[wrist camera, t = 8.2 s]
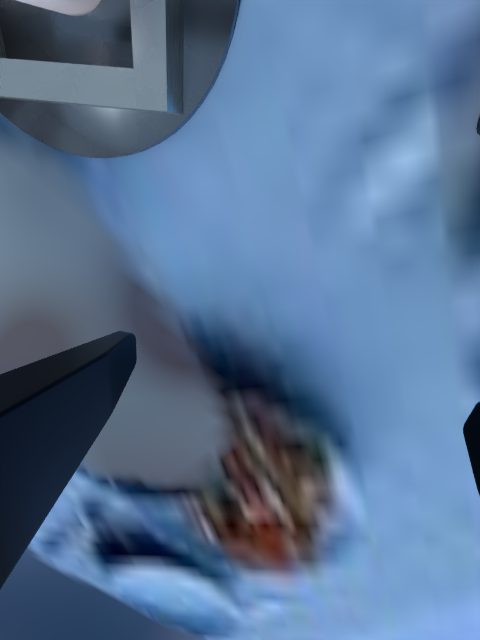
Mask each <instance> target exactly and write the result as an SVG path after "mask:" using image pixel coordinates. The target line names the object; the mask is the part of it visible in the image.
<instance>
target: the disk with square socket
mask: <svg viewBox="0 0 480 640" xmlns="http://www.w3.org/2000/svg"><path fill="white" fill-rule="evenodd" d="M239 1H240V0H101V1H100V3H99V4H98V6H97V7H96V8H95V9H94V10H93V11H91V12H90V13H88V14H86V15H83V16H70V15H66V14H63V13H59V12H56V11H52V10H48V9H45V8H41V7H38V6H34V5H30V4H27V3H23V2H20V1H16V0H0V112H1V113H2V114H3V115H4V116H5V117H6V118H7V119H9V120H10V121H11V122H12V123H13V124H15V125H16V126H17V127H18V128H20V129H21V130H23V131H24V132H26V133H27V134H29V135H30V136H32V137H34V138H35V139H37V140H38V141H41V142H43V143H45V144H47V145H49V146H51V147H53V148H55V149H58V150H61V151H64V152H67V153H70V154H74V155H79V156H84V157H92V158H112V157H120V156H128V155H132V154H135V153H138V152H142V151H145V150H147V149H149V148H151V147H153V146H155V145H157V144H160V143H161V142H163V141H164V140H166V139H167V138H168V137H170V136H171V135H173V134H174V133H176V132H177V131H178V130H179V129H180V128H181V127H182V126H183V125H184V124H185V123H186V122H187V121H188V120H189V119H190V118H191V117H192V116H193V114H194V113H195V112H196V111H197V109H198V108H199V107H200V106H201V104H202V103H203V102H204V100H205V98H206V97H207V95H208V93H209V92H210V90H211V88H212V87H213V85H214V83H215V81H216V79H217V77H218V75H219V72H220V70H221V68H222V66H223V64H224V61H225V58H226V55H227V52H228V49H229V46H230V43H231V40H232V37H233V33H234V28H235V23H236V19H237V14H238V9H239Z"/></svg>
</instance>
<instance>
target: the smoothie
mask: <svg viewBox="0 0 480 640" xmlns="http://www.w3.org/2000/svg"><path fill="white" fill-rule="evenodd" d="M16 1H20V2H23V3H27V4H30V5H34V6H38V7H41V8H45V9H48V10H52V11H56V12H59V13H63V14H66V15H70V16H83V15H86V14H88V13H90V12H91V11H93V10H94V9H95V8H96V7H97V6H98V4H99V3H100V1H101V0H16Z"/></svg>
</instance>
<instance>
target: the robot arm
mask: <svg viewBox="0 0 480 640" xmlns="http://www.w3.org/2000/svg"><path fill="white" fill-rule="evenodd" d="M477 133H478V134H479V135H480V118H479V121H478V124H477ZM136 358H137V357H136V337H135V335H134V334H133V333H129V332H124V331H118V332H115V333H112V334H109V335H107V336H104V337H102V338H99V339H96V340H93V341H91V342H88V343H85V344H82V345H80V346H77V347H74V348H71V349H69V350H66V351H63V352H61V353H58V354H55V355H52V356H49V357H47V358H44V359H41V360H39V361H36V362H33V363H30V364H28V365H25V366H22V367H19V368H17V369H14V370H11V371H8V372H6V373H3V374H0V589H1V588H2V586H3V584H4V583H5V581H6V580H7V578H8V577H9V575H10V573H11V572H12V570H13V569H14V567H15V565H16V564H17V563H18V561H19V559H20V558H21V556H22V555H23V553H24V551H25V550H26V548H27V547H28V545H29V544H30V542H31V540H32V539H33V537H34V536H35V534H36V533H37V531H38V529H39V528H40V526H41V525H42V523H43V521H44V520H45V518H46V517H47V515H48V514H49V512H50V510H51V509H52V507H53V506H54V504H55V503H56V501H57V499H58V498H59V496H60V495H61V493H62V492H63V490H64V488H65V487H66V485H67V484H68V482H69V480H70V479H71V477H72V476H73V474H74V473H75V471H76V469H77V468H78V466H79V465H80V463H81V462H82V460H83V458H84V457H85V455H86V454H87V452H88V450H89V449H90V447H91V445H92V444H93V443H94V441H95V439H96V438H97V436H98V435H99V433H100V432H101V430H102V428H103V427H104V425H105V423H106V422H107V420H108V419H109V417H110V416H111V414H112V412H113V410H114V408H115V406H116V404H117V402H118V400H119V398H120V396H121V394H122V392H123V390H124V388H125V386H126V384H127V382H128V380H129V377H130V375H131V373H132V371H133V369H134V367H135V364H136ZM463 433H464V438H465V442H466V446H467V450H468V454H469V458H470V462H471V466H472V470H473V474H474V478H475V482H476V485H477V489H478V492H479V495H480V402H478V403H477V404H476V405H475V407H474V409H473V410H472V412H471V414H470V415H469V417H468V419H467V420H466V422H465V424H464V427H463Z"/></svg>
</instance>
